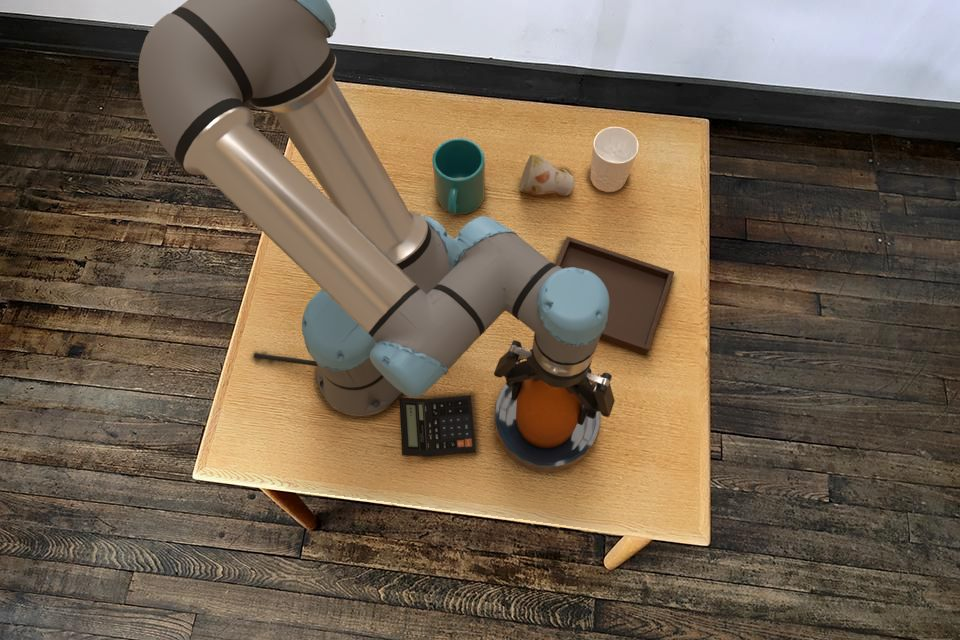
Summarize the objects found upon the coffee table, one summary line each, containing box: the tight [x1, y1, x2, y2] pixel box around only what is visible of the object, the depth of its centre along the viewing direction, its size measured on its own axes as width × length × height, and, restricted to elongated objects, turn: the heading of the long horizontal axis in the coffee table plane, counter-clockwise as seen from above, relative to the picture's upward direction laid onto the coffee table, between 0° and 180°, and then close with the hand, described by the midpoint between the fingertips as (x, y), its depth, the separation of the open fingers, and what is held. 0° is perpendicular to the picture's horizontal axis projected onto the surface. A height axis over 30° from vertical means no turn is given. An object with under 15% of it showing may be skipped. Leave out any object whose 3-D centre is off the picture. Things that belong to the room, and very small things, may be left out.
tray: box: [555, 236, 675, 356], centre depth 130 cm, size 20×16×3 cm
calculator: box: [398, 394, 477, 458], centre depth 121 cm, size 9×12×3 cm
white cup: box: [589, 126, 640, 193], centre depth 136 cm, size 8×8×10 cm
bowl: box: [494, 380, 601, 474], centre depth 120 cm, size 16×16×5 cm
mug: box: [519, 154, 576, 197], centre depth 138 cm, size 8×10×10 cm
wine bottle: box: [516, 379, 583, 449], centre depth 108 cm, size 10×10×30 cm
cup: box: [431, 137, 486, 216], centre depth 134 cm, size 9×12×11 cm
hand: (549, 403), depth 113 cm, fingers closed on wine bottle, 10 cm apart
